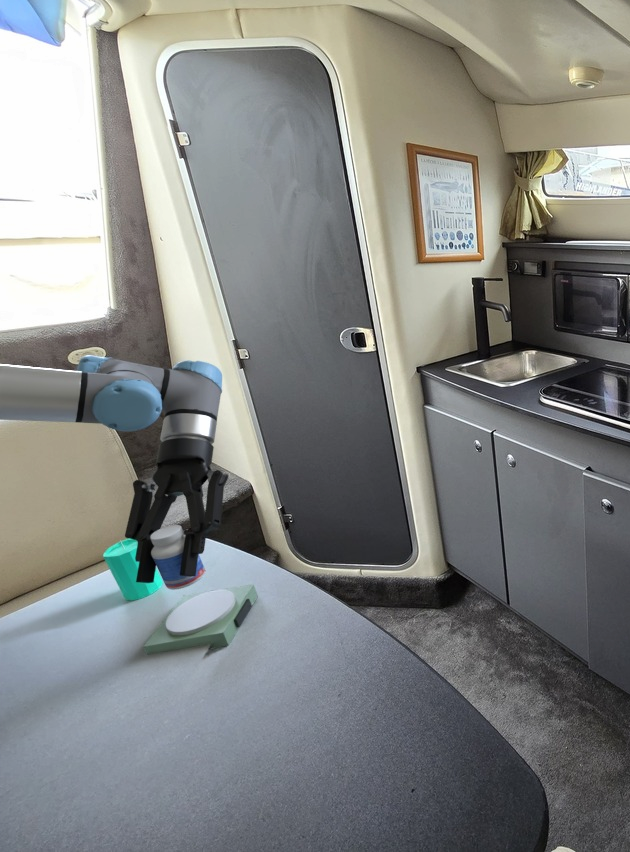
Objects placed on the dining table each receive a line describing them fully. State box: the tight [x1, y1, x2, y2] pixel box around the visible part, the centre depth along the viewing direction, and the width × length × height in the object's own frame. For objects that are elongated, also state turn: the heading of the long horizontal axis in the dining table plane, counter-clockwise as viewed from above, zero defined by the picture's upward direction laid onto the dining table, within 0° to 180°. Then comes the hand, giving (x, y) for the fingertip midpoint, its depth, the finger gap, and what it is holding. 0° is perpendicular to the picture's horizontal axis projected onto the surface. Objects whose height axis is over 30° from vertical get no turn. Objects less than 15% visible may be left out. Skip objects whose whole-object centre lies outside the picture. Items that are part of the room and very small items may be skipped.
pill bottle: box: [150, 524, 206, 591], centre depth 82 cm, size 6×5×10 cm
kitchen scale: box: [143, 583, 259, 655], centre depth 89 cm, size 12×12×4 cm
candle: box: [102, 538, 164, 601], centre depth 97 cm, size 6×6×12 cm
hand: (166, 578), depth 79 cm, fingers closed on pill bottle, 5 cm apart
